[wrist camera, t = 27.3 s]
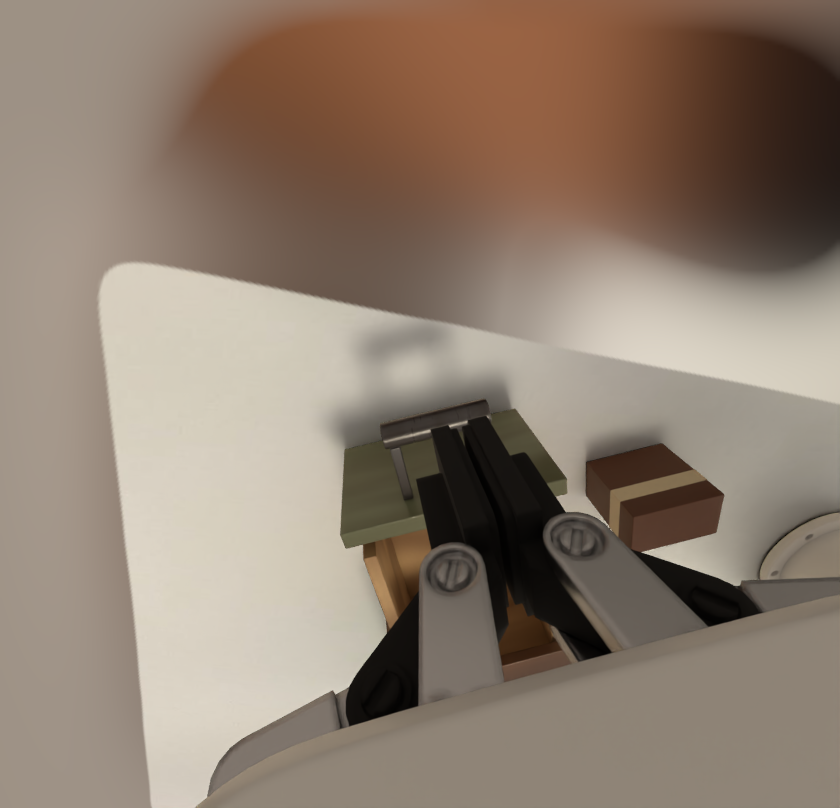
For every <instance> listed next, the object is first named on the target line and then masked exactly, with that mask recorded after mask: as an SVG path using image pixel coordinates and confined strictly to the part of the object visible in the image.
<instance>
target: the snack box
mask: <svg viewBox="0 0 840 808" xmlns="http://www.w3.org/2000/svg"><path fill="white" fill-rule="evenodd" d="M587 497H588V499H589V500H590V501H591V503H592V504H593V505H594V507H595V508H596V509H597V510H598V512H599V513H600V514H601V516H602V517H603V518H604V520H605V521H606V522H607V524H608V525H609V527H610V528H611V530H612V531H613V532H614V534H615V535H616V536H617V537H618V538H619V539H620V540H621V541H622V542H623V543H624V544H625V545H626V546H627V547H628V548H630V549H632V550H635V551H638V552H643V551H647V550H651V549H655V548H659V547H663V546H667V545H670V544H674V543H678V542H682V541H686V540H690V539H694V538H698V537H702V536H706V535H710V534H714V533H716V532H717V527H718V523H719V518H720V513H721V508H722V504H723V499H724V494H723V493H722V492H721V491H720V490H718V489H717V488H716V487H715V486H714V485H712V484H711V483H710V482H709V481H707V479H706V478H705V477H703V476H702V475H701V474H700V473H699V472H697V471H696V470H694V469H693V468H692V467H690V466H689V465H688V464H687V463H685V462H684V461H683V460H682V459H681V458H679V457H678V456H677V455H676V454H675V453H673V452H672V451H671V450H670V449H668V448H667V447H666V446H665V445H664V444H658V445H654V446H649V447H645V448H641V449H637V450H633V451H629V452H625V453H621V454H617V455H613V456H609V457H605V458H601V459H597V460H593V461H589V462H587Z"/></svg>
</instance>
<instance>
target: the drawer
mask: <svg viewBox="0 0 840 808" xmlns="http://www.w3.org/2000/svg"><path fill="white" fill-rule="evenodd" d="M482 416H487V417H488V419H489V421H490V422H491V424H492V426H493V427H494V429H495V431H496V432H497V434H498V436H499V437H500V439H501V441H502V443H503V444H504V446H505V448H506V449H507V451H508V453H509V454H510V455H513V454H517V453H521V452H525V453H526V454H527V455H528V456H529V458H530V459H531V461H532V462H533V464H534V465H535V467H536V468H537V470H538V471H539V473H540V474H541V476H542V477H543V479H544V480H545V482H546V483H547V485H548V486H549V488H550V489H551V491H552V492H553V494H554V495H555V497H556V496H560V495H564V494H567V478H566V477H565V476H564V474H563V473H562V472H561V470H560V469H559V467H558V466H557V465H556V463H555V462H554V461H553V459H552V458H551V457H550V455H549V454H548V452H547V451H546V450H545V448H544V447H543V446H542V444H541V443H540V442H539V440H538V439H537V437H536V436H535V435H534V433H533V432H532V431H531V429H530V428H529V427H528V425H527V424H526V422H525V421H524V420H523V418H522V417H521V416H520V414H519V413H518V412H517V410H516V409H511V410H506V411H502V412H498V413H494V414H491V413H490V409H489V406H488V403H487V401H486V399H484V398H483V399H479V400H475V401H470V402H466V403H462V404H458V405H454V406H450V407H445V408H441V409H437V410H433V411H429V412H425V413H420V414H416V415H412V416H408V417H404V418H400V419H395V420H391V421H387V422H383V423H380V431H381V436H382V441H378V442H374V443H370V444H366V445H362V446H357V447H353V448H349V449H345V451H344V470H343V490H342V510H341V531H340V535H341V538H342V540H343V543H344V545H345V548H351V547H355V546H359V545H363V559H364V562H365V565H366V567H367V570H368V573H369V575H370V578H371V581H372V583H373V586H374V589H375V591H376V594H377V596H378V599H379V602H380V604H381V607H382V610H383V612H384V615H385V618H386V620H387V623H388V626H389V628H390V629H391V627H392V626H393V625H394V623H395V622H396V621H397V619H398V618H399V617H400V615H401V614H402V613H403V611H404V610H405V609H406V607H407V606H408V605H409V603H410V602H411V600H412V599H413V598H414V596H415V595H416V594H417V592H418V591H419V570H420V565H421V563H422V561H423V559H424V557H425V556H426V555H427V554H428V553H429V552H430V551H431V546H430V541H429V537H428V532H427V528H426V523H425V519H424V514H423V509H422V505H421V500H420V496H419V491H418V487H417V482H416V479H418V478H422V477H426V476H430V475H434V474H438V473H439V468H438V464H437V459H436V454H435V450H434V445H433V441H432V436H431V431H430V429H433V428H437V427H441V426H446V425H449V427H450V429H454V428H457V429H458V432H459V434H460V436H461V439H462V441H463V443H464V438H463V432H462V426H466V425H468V420H470V419H474V418H478V417H482ZM464 445H465V444H464ZM506 587H507V594H508V601H509V607H507V614H508V621H509V625H508V627H507V629H506V631H505V633H504V635H503V637H502V639H501V640H500V642H499V650H500V655H504V654H508V653H512V652H516V651H520V650H524V649H527V648H531V647H535V646H539V645H543V644H547V643H551V642H554V641H556V639H555V638H554V636H553V634H552V632H551V630H550V627H549V624H548V623H546V622H544V621H541V620H539V619H537V618H535V616H534V615H532V616H527V614H526V611H525V609H524V606H523V604H522V603H521V604H517V605H515V604H514V602H513V599H512V597H511V594H510V592H509V589H508V586H507V584H506Z"/></svg>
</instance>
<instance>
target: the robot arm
mask: <svg viewBox="0 0 840 808" xmlns="http://www.w3.org/2000/svg"><path fill="white" fill-rule="evenodd" d="M430 431H431V436H432V441H433V445H434V450H435V454H436V459H437V464H438V468H439V473H438V474H434V475H430V476H426V477H422V478H418V479H416V482H417V487H418V491H419V496H420V500H421V505H422V509H423V514H424V519H425V523H426V528H427V532H428V537H429V541H430V546H431V551H430V552H429V553H428V554H427V555H426V556H425V557H424V559H423V561H422V563H421V565H420V570H419V591H418V592H417V594H416V595H415V596H414V598H413V599H412V600H411V602H410V603H409V605H408V606H407V607H406V609H405V610H404V611H403V613H402V614H401V615H400V617H399V618H398V619H397V621H396V622H395V623H394V625H393V626H392V627H391V629H390V630H389V631H388V633H387V634H386V635H385V637H384V638H383V639H382V641H381V642H380V643H379V645H378V646H377V648H376V649H375V650H374V652H373V653H372V654H371V656H370V657H369V658H368V660H367V661H366V662H365V664H364V665H363V666H362V668H361V669H360V670H359V672H358V673H357V674H356V676H355V678H354V679H353V681H352V683H351V685H350V687H349V688H347V689H345V690H343V691H341V692H340V693H338V694H336V695H335V693H334V692H333V691H331V692H329V693H327V694H325V695H323V696H321V697H319V698H318V699H316V700H314V701H312V702H310V703H308V704H306V705H305V706H303V707H301V708H299V709H297V710H295V711H293V712H291V713H290V714H288V715H286V716H284V717H282V718H280V719H278V720H276V721H275V722H273V723H271V724H269V725H267V726H265V727H263V728H262V729H260V730H258V731H256V732H254V733H252V734H250V735H248V736H247V737H245V738H243V739H241V740H240V741H239V742H237V743H236V744H235V745H233V746H232V747H231V748H230V749H229V750H228V751H227V752H226V754H225V755H224V756H223V757H222V759H221V760H220V761H219V763H218V765H217V767H216V769H215V771H214V773H213V775H212V777H211V780H210V785H209V790H208V795H207V798H206V799H205V800H204V801H202V802H201V803H200V804H199V805H197V806H196V807H195V808H840V513H832V514H828V515H825V516H821V517H819V518H816V519H813V520H811V521H809V522H807V523H805V524H803V525H801V526H800V527H798V528H796V529H795V530H793V531H792V532H790V533H789V534H788V535H786V536H785V537H784V538H783V539H781V540H780V541H779V542H778V543H777V544H776V545H775V546H774V547H773V549H772V550H771V551H770V552H769V553H768V555H767V556H766V558H765V560H764V561H763V564H762V566H761V569H760V580H746V581H742V582H741V585H740V586H733V585H732V584H730V583H728V582H725V581H723V580H721V579H719V578H716V577H713V576H710V575H707V574H704V573H701V572H698V571H695V570H692V569H689V568H686V567H683V566H680V565H677V564H674V563H671V562H668V561H665V560H662V559H659V558H656V557H653V556H650V555H647V554H644V553H641V552H638V551H635V550H632V549H630V548H628V547H627V546H626V545H625V544H624V543H623V542H622V541H621V540H620V539H619V538H618V537H617V536H616V535H615V534H614V533H613V532H612V531H611V530H610V529H609V528H608V527H607V526H606V525H605V524H604V523H603V522H601V521H600V520H599V519H597V518H595V517H593V516H591V515H588V514H584V513H579V512H567V513H566V512H565V510H564V509H563V507H562V506H561V504H560V503H559V501H558V500H557V498H556V497H555V495H554V494H553V492H552V491H551V489H550V488H549V486H548V485H547V483H546V482H545V480H544V479H543V477H542V476H541V474H540V473H539V471H538V470H537V468H536V467H535V465H534V464H533V462H532V461H531V459H530V458H529V456H528V455H527V454H526V453H525V452H521V453H517V454H513V455H510V454H509V453H508V451H507V449H506V448H505V446H504V444H503V443H502V441H501V439H500V437H499V436H498V434H497V432H496V431H495V429H494V427H493V426H492V424H491V422H490V421H489V419H488V417H487V416H482V417H478V418H474V419H470V420H468V425H466V426H462V432H463V438H464V443H463V441H462V439H461V436H460V434H459V432H458V429H457V428H454V429H450V427H449V425H446V426H441V427H437V428H433V429H430ZM464 444H465V445H464ZM506 584H507V586H508V589H509V592H510V594H511V597H512V599H513V602H514V604H515V605H517V604H521V603H522V604H523V606H524V609H525V611H526V614H527V616H532V615H534V616H535V618H537V619H539V620H541V621H544V622H546V623H548V624H549V627H550V630H551V632H552V634H553V636H554V638H555V639H556V641H557V643H558V644H559V646H560V647H561V649H562V651H563V652H564V654H565V655H566V657H567V659H568V660H569V662H570V663H571V664H570V665H566V666H563V667H559V668H555V669H552V670H548V671H544V672H541V673H537V674H533V675H530V676H526V677H522V678H519V679H515V680H511V681H508V682H505V680H504V674H503V668H502V662H501V656H500V650H499V642H500V640H501V639H502V637H503V635H504V633H505V631H506V629H507V627H508V625H509V621H508V614H507V607H509V601H508V594H507V587H506Z"/></svg>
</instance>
